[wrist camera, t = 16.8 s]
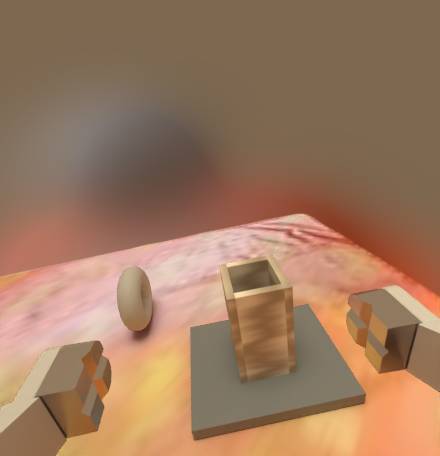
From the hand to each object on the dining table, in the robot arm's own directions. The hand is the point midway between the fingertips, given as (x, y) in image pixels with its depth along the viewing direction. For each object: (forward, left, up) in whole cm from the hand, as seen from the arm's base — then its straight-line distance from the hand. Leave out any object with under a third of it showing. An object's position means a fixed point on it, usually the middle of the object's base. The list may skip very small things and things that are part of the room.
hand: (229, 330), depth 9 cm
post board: (+4, +17, -23) cm, 29 cm away
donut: (-13, +29, -24) cm, 39 cm away
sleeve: (+4, +17, -22) cm, 28 cm away
